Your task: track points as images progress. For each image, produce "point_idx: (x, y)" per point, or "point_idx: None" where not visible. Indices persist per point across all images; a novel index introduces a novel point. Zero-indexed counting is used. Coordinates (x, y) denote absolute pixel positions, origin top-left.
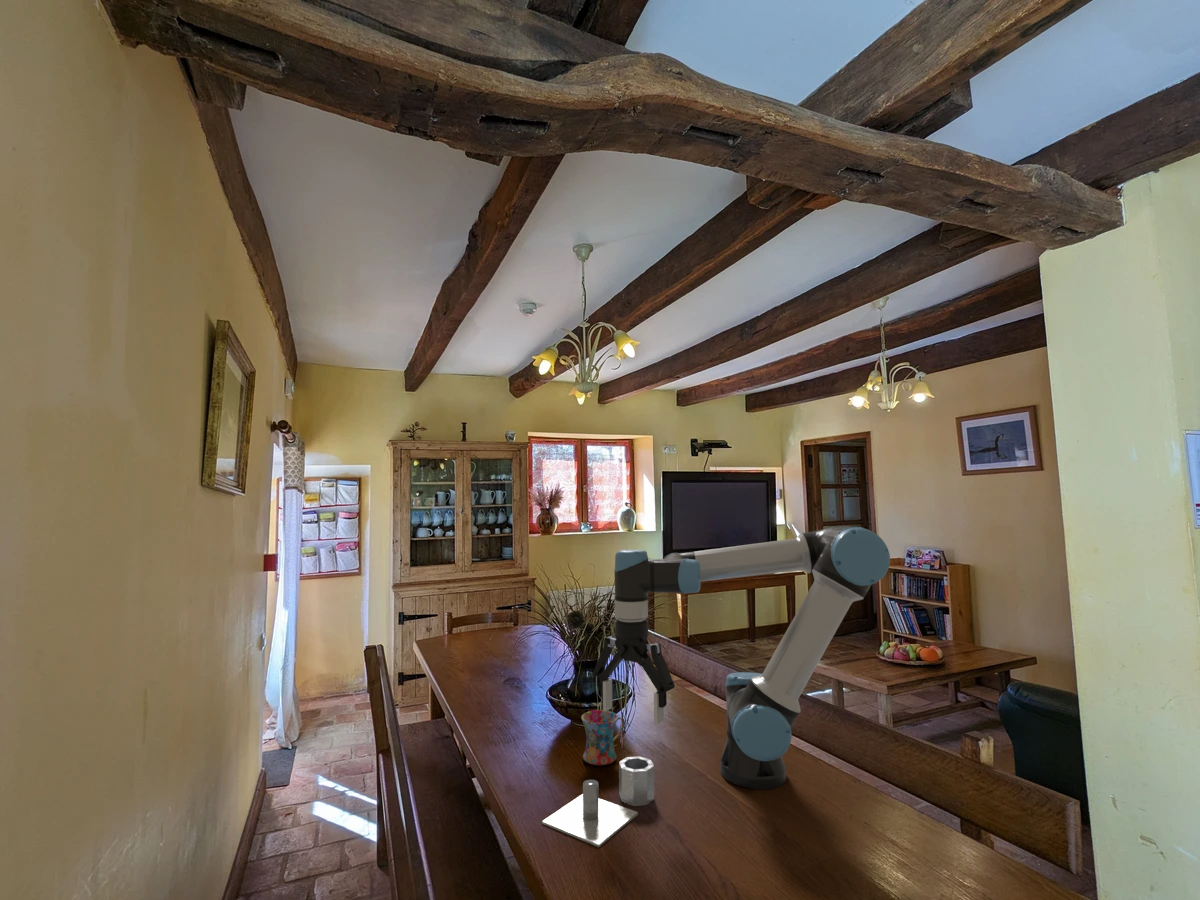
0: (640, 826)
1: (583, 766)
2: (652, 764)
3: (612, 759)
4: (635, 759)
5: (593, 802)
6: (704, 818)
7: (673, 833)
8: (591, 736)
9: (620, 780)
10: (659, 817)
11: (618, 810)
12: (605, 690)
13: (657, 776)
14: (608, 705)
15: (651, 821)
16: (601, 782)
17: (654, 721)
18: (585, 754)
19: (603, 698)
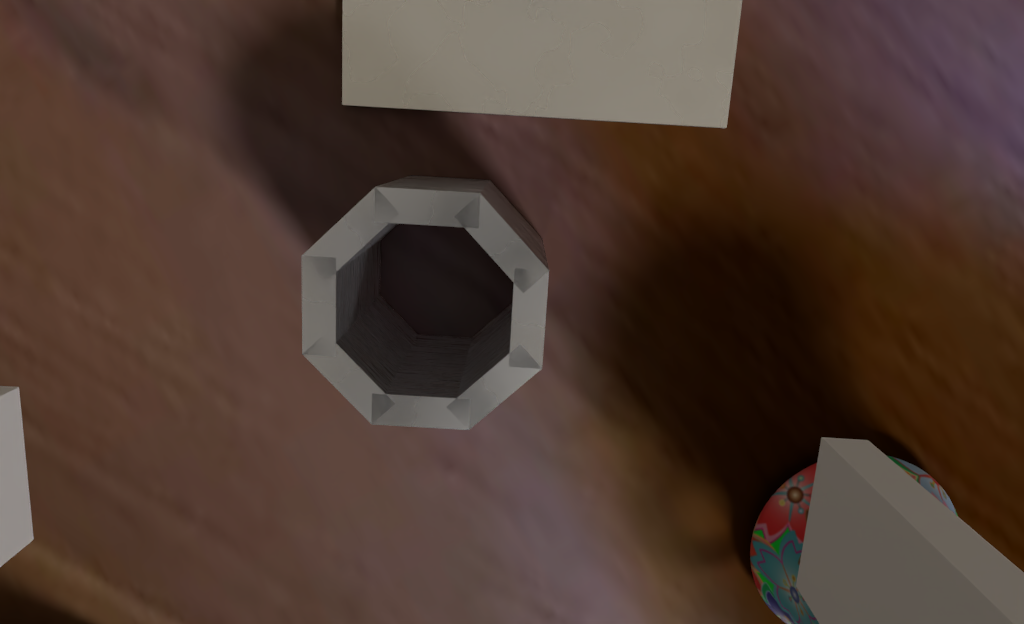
0: (272, 3)
1: (897, 427)
2: (320, 364)
3: (759, 540)
4: (472, 382)
5: None
6: (41, 263)
7: (92, 39)
8: None
9: (515, 219)
10: (235, 146)
11: (444, 59)
12: (1013, 621)
13: (462, 531)
14: (835, 533)
15: (249, 84)
16: (705, 315)
17: (1, 395)
18: (935, 493)
19: (959, 528)
